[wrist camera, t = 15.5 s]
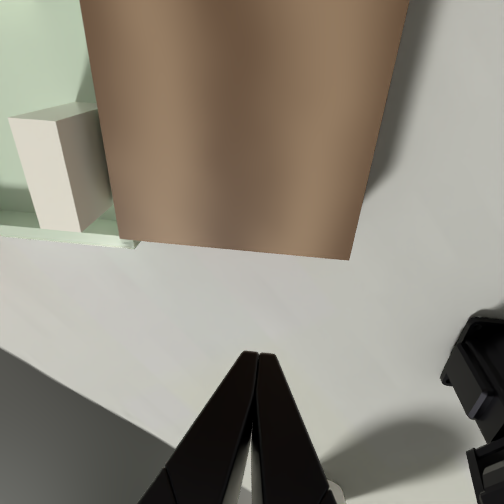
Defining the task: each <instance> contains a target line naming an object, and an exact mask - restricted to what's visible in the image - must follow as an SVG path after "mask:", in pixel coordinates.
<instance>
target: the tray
mask: <svg viewBox="0 0 504 504" xmlns="http://www.w3.org/2000/svg"><path fill="white" fill-rule="evenodd" d="M72 102H85V103H97V102H96V96H95V91H94V85H93V79H92V73H91V67H90V61H89V55H88V49H87V43H86V37H85V32H84V26H83V20H82V14H81V8H80V2H79V0H0V236H2V237H12V238H22V239H33V240H43V241H54V242H64V243H75V244H85V245H96V246H106V247H117V248H127V249H135V248H136V247H137V245H138V244H139V243H140V242H141V241H137V240H126V239H120V238H119V232H118V226H117V220H116V214H115V208H114V205H112V206H111V207H110V208H109V209H108V210H107V211H105V212H104V213H103V214H102V215H101V216H100V217H99V218H97V219H96V220H95V221H94V222H93V223H92V224H90V225H89V226H88V227H87V228H86V229H85V230H83V231H82V232H70V231H60V230H49V229H41V228H40V225H39V221H38V218H37V215H36V211H35V208H34V205H33V201H32V198H31V195H30V191H29V188H28V185H27V181H26V178H25V175H24V171H23V168H22V164H21V161H20V158H19V154H18V151H17V148H16V144H15V141H14V138H13V134H12V131H11V128H10V124H9V121H8V117H12V116H16V115H20V114H25V113H29V112H33V111H38V110H42V109H46V108H51V107H55V106H59V105H63V104H68V103H72Z"/></svg>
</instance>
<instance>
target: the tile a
mask: <svg viewBox="0 0 504 504" xmlns="http://www.w3.org/2000/svg"><path fill="white" fill-rule="evenodd" d="M8 121H9V124H10V128H11V131H12V134H13V138H14V141H15V144H16V148H17V151H18V154H19V158H20V161H21V164H22V168H23V171H24V175H25V178H26V181H27V185H28V188H29V191H30V195H31V198H32V201H33V205H34V208H35V211H36V215H37V218H38V221H39V225H40V228H41V229H49V230H60V231H70V232H82V231H83V230H85V229H86V228H87V227H88V226H89V225H90V224H92V223H93V222H94V221H95V220H96V219H97V218H99V217H100V216H101V215H102V214H103V213H104V212H105V211H107V210H108V209H109V208H110V207H111V206H112V205H114V203H113V197H112V191H111V185H110V179H109V173H108V167H107V161H106V155H105V149H104V144H103V138H102V132H101V126H100V120H99V114H98V108H97V103H85V102H72V103H68V104H63V105H59V106H55V107H51V108H46V109H42V110H38V111H33V112H29V113H25V114H20V115H16V116H12V117H8Z"/></svg>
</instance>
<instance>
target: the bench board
mask: <svg viewBox="0 0 504 504" xmlns="http://www.w3.org/2000/svg"><path fill="white" fill-rule="evenodd" d="M409 1H410V0H79V2H80V8H81V14H82V20H83V26H84V32H85V37H86V43H87V49H88V55H89V61H90V67H91V73H92V79H93V85H94V91H95V96H96V102H97V108H98V114H99V120H100V126H101V132H102V138H103V144H104V149H105V155H106V161H107V167H108V173H109V179H110V185H111V191H112V197H113V203H114V208H115V214H116V220H117V226H118V232H119V238H120V239H126V240H137V241H147V242H158V243H169V244H179V245H190V246H200V247H211V248H222V249H232V250H243V251H254V252H264V253H275V254H286V255H296V256H307V257H318V258H328V259H339V260H349V258H350V254H351V250H352V246H353V241H354V237H355V233H356V228H357V224H358V220H359V216H360V211H361V207H362V203H363V198H364V194H365V190H366V185H367V181H368V177H369V173H370V168H371V164H372V160H373V155H374V151H375V147H376V143H377V138H378V134H379V130H380V125H381V121H382V117H383V113H384V108H385V104H386V100H387V95H388V91H389V87H390V83H391V78H392V74H393V70H394V65H395V61H396V57H397V53H398V48H399V44H400V40H401V35H402V31H403V27H404V22H405V18H406V14H407V10H408V5H409Z"/></svg>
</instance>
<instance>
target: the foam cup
mask: <svg viewBox="0 0 504 504" xmlns="http://www.w3.org/2000/svg"><path fill="white" fill-rule="evenodd" d="M327 481H328V483H329V486H330V487H329V489H330V490H332V492H333V495H334V497H335V500H336V502H337V504H346V501H345V498H344V493H343V491H342V489H341V487H340V486H339V485H337V484H336V483H334V482H332V481H331V480H327Z"/></svg>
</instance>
